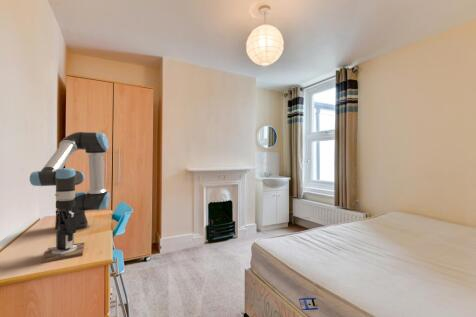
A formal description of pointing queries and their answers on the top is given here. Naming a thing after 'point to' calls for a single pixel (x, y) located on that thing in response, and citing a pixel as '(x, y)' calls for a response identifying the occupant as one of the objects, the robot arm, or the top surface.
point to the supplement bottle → (61, 236)
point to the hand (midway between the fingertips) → (65, 245)
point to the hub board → (63, 253)
